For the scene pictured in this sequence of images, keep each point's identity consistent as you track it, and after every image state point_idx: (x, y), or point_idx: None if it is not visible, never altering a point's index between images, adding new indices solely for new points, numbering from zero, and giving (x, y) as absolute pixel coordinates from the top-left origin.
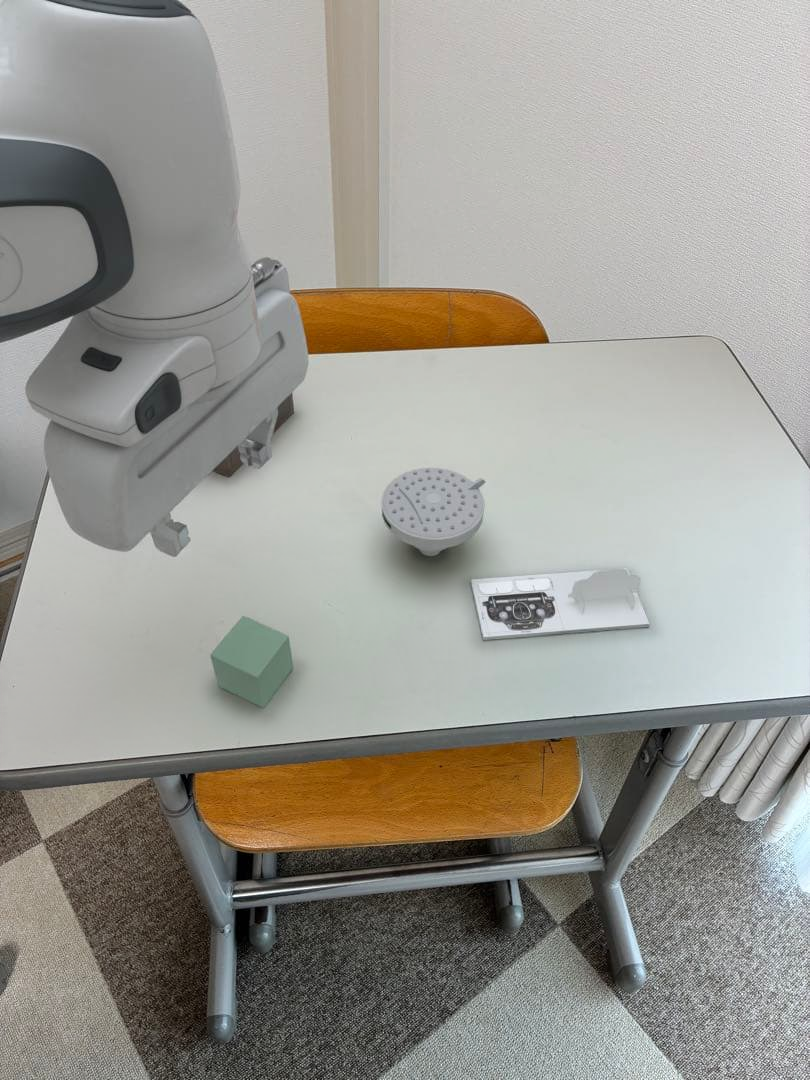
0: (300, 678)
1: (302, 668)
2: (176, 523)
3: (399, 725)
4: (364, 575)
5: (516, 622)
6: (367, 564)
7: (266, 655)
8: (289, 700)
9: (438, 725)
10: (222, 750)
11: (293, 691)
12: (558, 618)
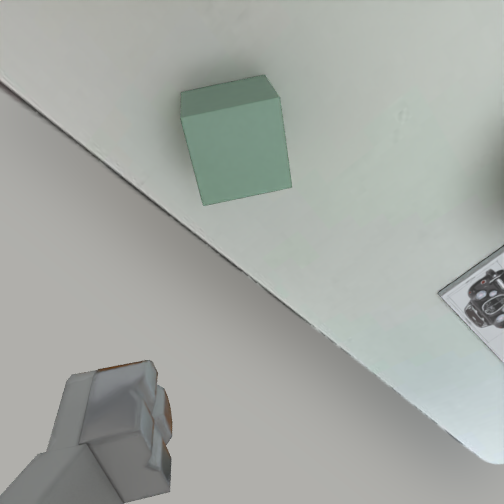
0: None
1: None
2: (148, 474)
3: (288, 295)
4: (476, 116)
5: (476, 309)
6: (500, 104)
7: (242, 188)
8: None
9: (312, 320)
10: (118, 175)
11: None
12: (499, 333)
